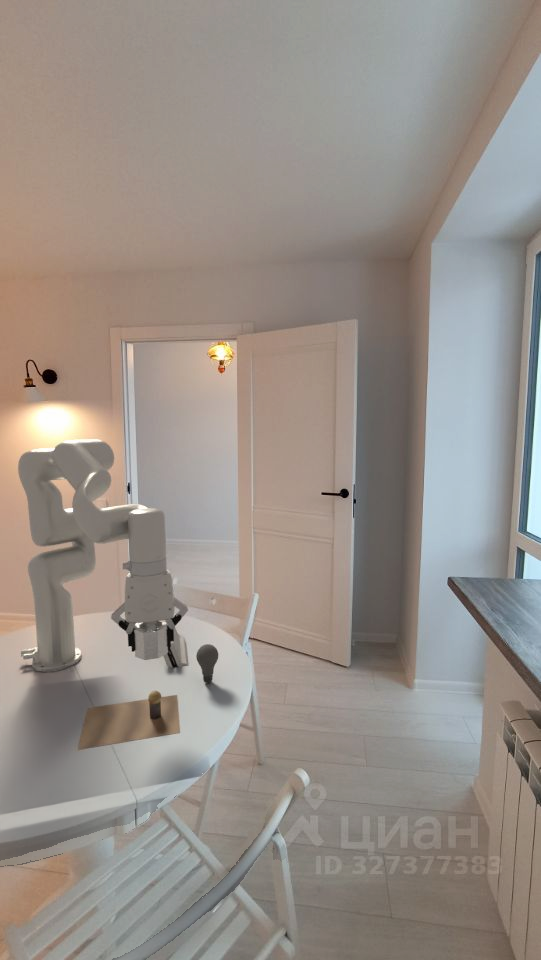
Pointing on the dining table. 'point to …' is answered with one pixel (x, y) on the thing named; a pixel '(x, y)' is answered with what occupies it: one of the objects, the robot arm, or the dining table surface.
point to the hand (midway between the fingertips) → (151, 645)
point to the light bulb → (207, 661)
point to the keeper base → (130, 721)
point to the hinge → (177, 652)
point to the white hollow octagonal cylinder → (150, 640)
